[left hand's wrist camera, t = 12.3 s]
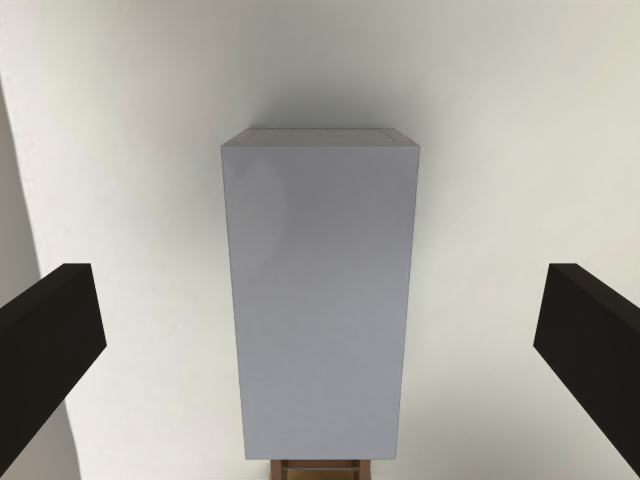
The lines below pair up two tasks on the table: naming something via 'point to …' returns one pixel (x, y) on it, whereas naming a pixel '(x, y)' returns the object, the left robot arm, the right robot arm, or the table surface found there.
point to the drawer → (358, 476)
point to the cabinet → (320, 287)
